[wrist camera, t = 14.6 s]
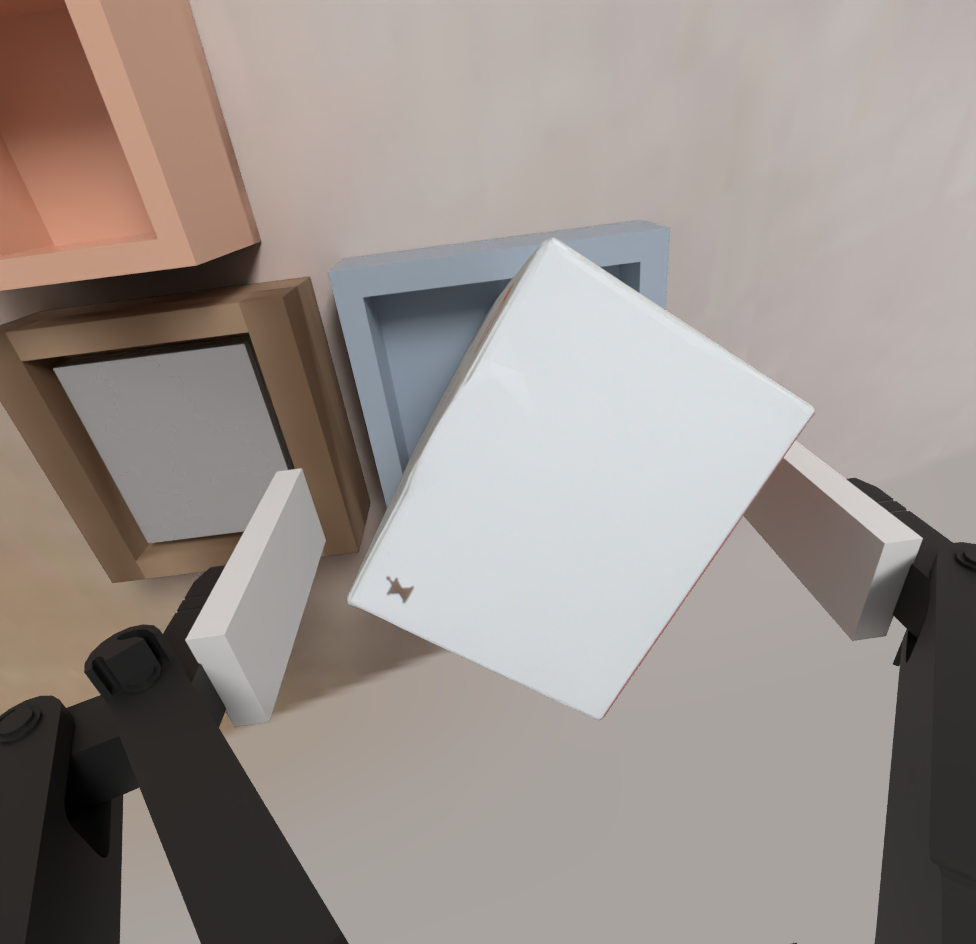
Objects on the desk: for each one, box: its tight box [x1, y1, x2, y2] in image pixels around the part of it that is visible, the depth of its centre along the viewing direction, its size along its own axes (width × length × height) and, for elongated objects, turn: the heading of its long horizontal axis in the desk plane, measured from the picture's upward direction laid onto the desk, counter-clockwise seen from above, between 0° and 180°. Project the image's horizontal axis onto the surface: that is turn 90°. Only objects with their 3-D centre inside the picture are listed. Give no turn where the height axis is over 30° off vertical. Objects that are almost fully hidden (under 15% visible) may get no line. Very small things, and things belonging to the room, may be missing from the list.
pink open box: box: [0, 0, 261, 291], centre depth 16 cm, size 8×8×6 cm
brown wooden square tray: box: [0, 277, 370, 583], centre depth 22 cm, size 11×11×4 cm
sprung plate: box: [53, 336, 295, 543], centre depth 22 cm, size 7×8×1 cm
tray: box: [328, 220, 670, 508], centre depth 23 cm, size 12×12×3 cm
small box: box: [347, 238, 815, 720], centre depth 17 cm, size 8×6×13 cm
